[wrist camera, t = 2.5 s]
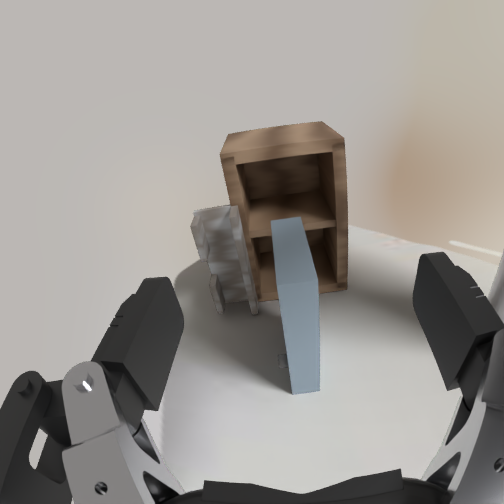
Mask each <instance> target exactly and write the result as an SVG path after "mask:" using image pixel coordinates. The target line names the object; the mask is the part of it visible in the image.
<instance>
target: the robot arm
mask: <svg viewBox="0 0 504 504" xmlns="http://www.w3.org/2000/svg"><path fill="white" fill-rule="evenodd" d="M413 307H414V310H415V313H416V315H417V317H418V320H419V322H420V324H421V326H422V329H423V331H424V333H425V335H426V338H427V340H428V342H429V345H430V347H431V350H432V352H433V355H434V357H435V360H436V362H437V365H438V367H439V370H440V372H441V375H442V378H443V380H444V383H445V386H446V389H447V391H449V390H452V389H456V388H459V387H460V389H461V391H462V395H461V396H460V398H459V400H458V403H457V406H456V409H455V411H454V414H453V417H452V420H451V422H450V425H449V427H448V430H447V432H446V435H445V437H444V439H443V442H442V444H441V446H440V448H439V450H438V452H437V454H436V455H435V457H434V458H433V460H432V461H431V463H430V464H429V466H428V467H427V469H426V471H425V472H424V474H423V476H422V478H421V480H419V479H414V478H405V477H402V474H401V469H397V470H392V471H388V472H383V473H378V474H373V475H367V476H361V477H354V478H352V479H349V480H346V481H343V482H341V483H338V484H335V485H332V486H329V487H326V488H323V489H320V490H316V491H313V492H310V493H305V494H297V493H292V492H287V491H282V490H277V489H272V488H268V487H263V486H259V485H255V484H250V483H229V482H216V481H206V480H204V486H203V489H200V490H196V491H191V492H188V493H186V492H185V491H184V489H183V488H182V486H181V485H180V483H179V482H178V480H177V479H176V478H175V477H174V475H173V474H172V473H171V472H170V471H169V469H168V468H167V466H166V464H165V462H164V460H163V458H162V456H161V455H160V453H159V451H158V449H157V447H156V444H155V442H154V440H153V438H152V436H151V434H150V432H149V430H148V428H147V425H146V423H145V421H144V419H143V418H142V416H143V413H144V410H153V411H158V409H159V406H160V402H161V399H162V396H163V392H164V389H165V386H166V383H167V379H168V376H169V373H170V370H171V367H172V363H173V360H174V357H175V354H176V351H177V348H178V345H179V341H180V338H181V335H182V332H183V328H184V317H183V313H182V310H181V307H180V305H179V302H178V299H177V297H176V294H175V291H174V289H173V286H172V283H171V281H170V279H169V278H168V277H157V278H146V279H144V280H143V282H142V283H141V285H140V287H139V289H138V290H137V292H136V294H132V295H131V296H130V297H129V298H128V299H127V300H126V301H125V302H124V303H122V305H121V306H120V308H119V310H118V312H117V313H116V315H115V318H114V319H113V321H112V322H111V324H110V327H109V328H108V329H107V331H106V333H105V335H104V337H103V339H102V341H101V343H100V344H99V346H98V348H97V350H96V352H95V354H94V356H93V358H92V360H91V361H89V362H83V363H80V364H78V365H76V366H74V367H73V368H72V369H71V370H69V372H68V373H67V374H66V376H65V377H64V379H63V380H58V381H52V382H46V381H45V380H44V379H43V378H42V376H41V375H40V374H39V373H38V372H36V371H28V372H25V373H23V374H22V375H20V376H19V377H18V378H17V379H16V380H15V382H14V383H13V385H12V387H11V389H10V391H9V393H8V394H7V397H6V399H5V401H4V403H3V405H2V407H1V409H0V504H71V501H72V497H73V500H74V503H75V504H504V251H503V255H502V258H501V261H500V264H499V267H498V270H497V273H496V276H495V279H494V282H493V285H492V287H491V290H490V293H489V295H488V298H487V297H486V296H484V293H483V292H482V290H481V289H480V287H478V285H477V283H476V282H475V281H474V279H473V278H472V276H471V275H470V274H469V273H467V272H466V271H465V270H463V269H462V268H460V267H459V266H455V265H454V264H453V263H452V261H451V260H450V259H449V258H448V256H447V255H446V254H445V253H444V252H437V253H428V254H422V255H421V256H420V259H419V264H418V269H417V275H416V280H415V285H414V290H413ZM39 428H40V429H41V430H43V431H44V432H45V433H46V434H48V437H47V439H46V442H45V445H44V448H43V450H42V453H41V456H40V459H39V462H38V466H37V468H36V469H33V468H32V466H31V465H30V462H29V453H30V450H31V447H32V445H33V442H34V439H35V437H36V434H37V432H38V429H39Z"/></svg>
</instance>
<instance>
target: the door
mask: <svg viewBox="0 0 504 504" xmlns="http://www.w3.org/2000/svg"><path fill="white" fill-rule="evenodd" d="M271 230H272V240H273V251H274V261H275V272H276V283H277V291H278V297H279V304H280V310H281V317H282V324H283V331H284V337H285V344H286V351H287V354H282V355H278V360H279V368H284V367H289V372H290V380H291V387H292V394H301V393H309V392H316V391H320V326H319V292H318V278H317V274H316V270H315V267H314V263H313V259H312V256H311V252H310V248H309V245H308V241H307V238H306V234H305V231H304V227H303V224H302V220H301V217H294V218H287V219H279V220H272V221H271Z"/></svg>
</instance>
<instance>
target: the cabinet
mask: <svg viewBox="0 0 504 504" xmlns="http://www.w3.org/2000/svg"><path fill="white" fill-rule="evenodd" d="M220 158H221V163H222V168H223V172H224V177H225V181H226V186H227V190H228V195H229V200H230V205H224V206H218V207H212V208H206V209H200V210H195V211H194V212H193V214H194V218H193V221H192V224H191V230H192V234H193V237H194V240H195V243H196V246H197V249H198V253H199V256H200V259H201V262H204V261H208V265H209V268H210V271H211V280H210V285H209V287H210V290H211V293H212V296H213V299H214V302H215V305H216V308H217V311H218V314H219V313H224V307H225V303H231V302H240V301H248V300H249V304H250V309H251V313H252V315H253V314H258V302H261V301H269V300H277V299H279V297H278V291H277V283H276V272H275V261H274V251H273V240H272V230H271V221H272V220H279V219H287V218H294V217H301V220H302V224H303V227H304V231H305V234H306V238H307V241H308V245H309V248H310V252H311V256H312V259H313V263H314V267H315V270H316V274H317V278H318V292H319V294H320V293H327V292H334V291H340V290H347V274H348V202H347V175H346V158H345V143H344V138H343V137H342V136H341V135H340V134H338V133H337V132H336V131H334V130H333V129H332V128H330V127H329V126H328V125H326V124H325V123H323V122H322V121H321V122H310V123H301V124H292V125H284V126H277V127H269V128H262V129H256V130H249V131H244V132H237V133H232V134H228V136H227V139H226V141H225V143H224V145H223V148H222V150H221V152H220Z"/></svg>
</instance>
